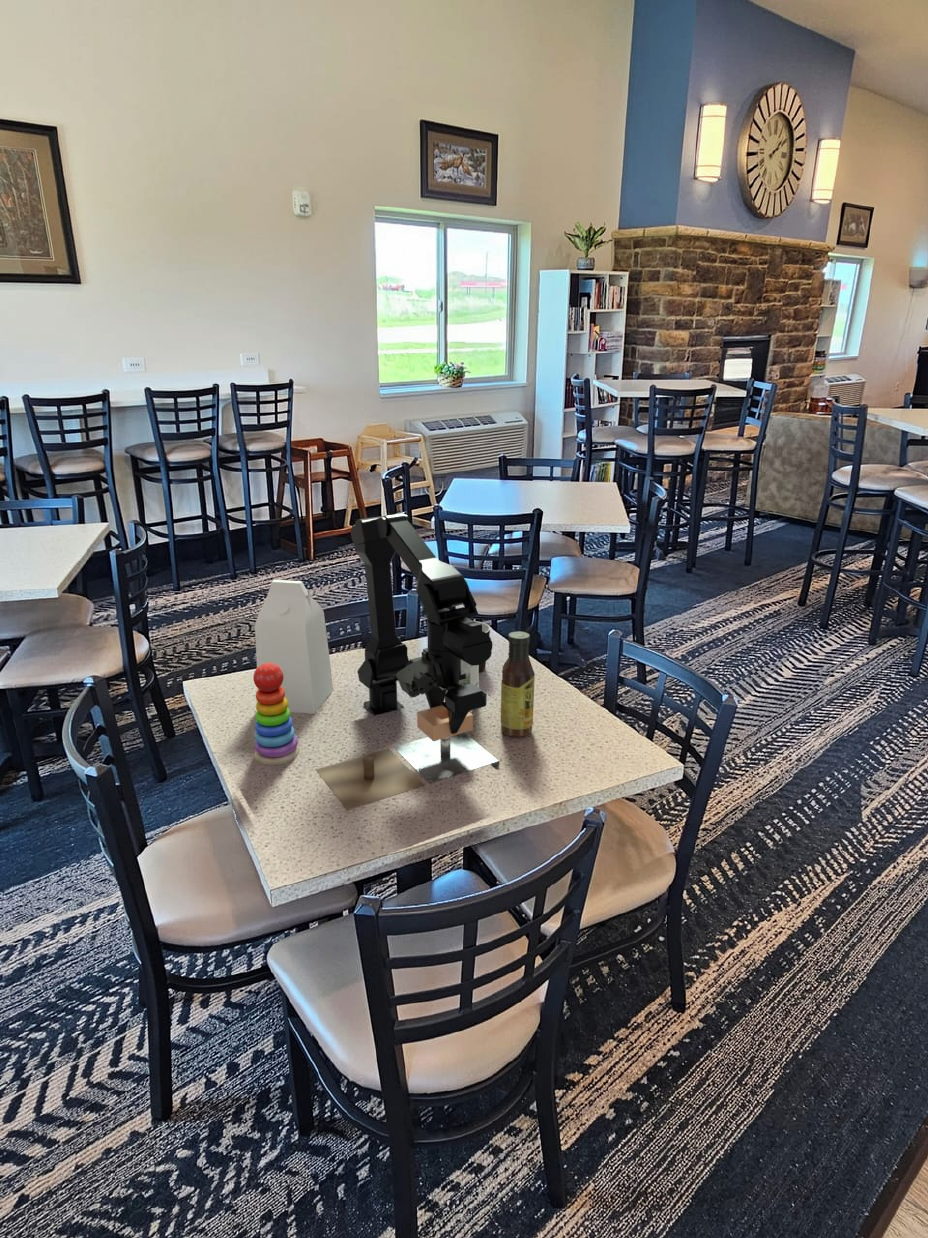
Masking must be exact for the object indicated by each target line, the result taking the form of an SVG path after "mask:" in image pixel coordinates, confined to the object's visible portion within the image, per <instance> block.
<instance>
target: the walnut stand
mask: <svg viewBox="0 0 928 1238" xmlns="http://www.w3.org/2000/svg"><path fill="white" fill-rule="evenodd" d="M315 771H316V772H317V774H318V775H319V776H320V777H321V779H322V780H323V781H324V783H326V785H327V787H328V788H329V789H330V790H331V792H332V793H333V795H334V796H335V797H336V798H337V799H338V801H339V802H340V803H341V804H342V806H343V808H344V809H345V810H346V811H350V810H353V809H357V808H360V807H363V806H366V805H368V804H372V803H374V802H378V801H381V800H384V799H387V798H390V797H394V796H396V795H400V794H402V793H403V794H404V793H405V792H408V791H412V790H415V789H418V788H421V787H424V786H425V783H424V782H422V781H421V780H420V779H419V778H418V777H417V775H415V773H413V772H412V770H411V769H409V768H408V766H407V765H405V763H403V761H402V760H401V759H400V758H399V757H398V756H397V755H396V754H394V752H393V751H391V749H390V748H386V749H382V750H379V751H375V752H371V753H368V754H364V755H362V756H357V757H354V758H351V759H348V760H344V761H342V762H337V763H335V764H331V765H327V766H324V767H323V766H322V767H320V768H318V769H315Z"/></svg>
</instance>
